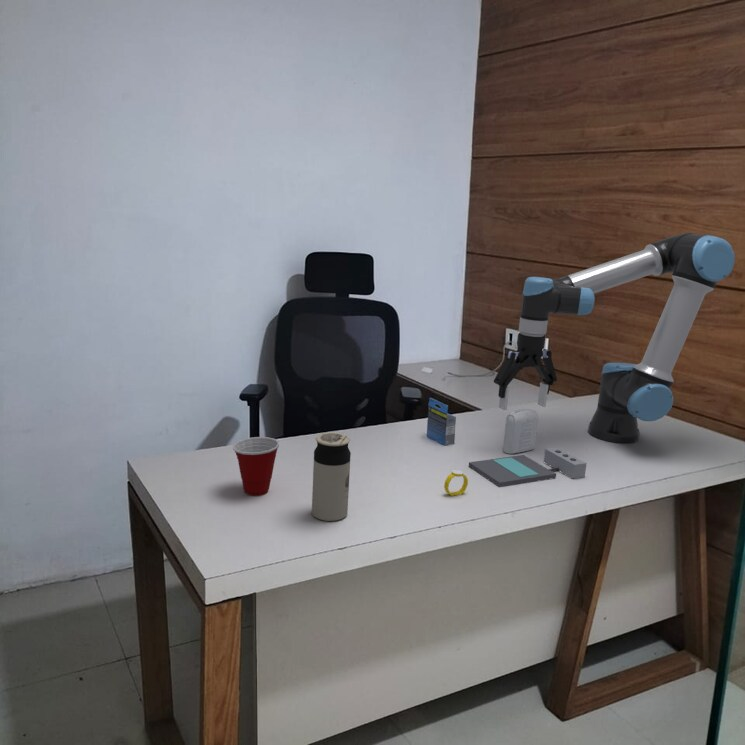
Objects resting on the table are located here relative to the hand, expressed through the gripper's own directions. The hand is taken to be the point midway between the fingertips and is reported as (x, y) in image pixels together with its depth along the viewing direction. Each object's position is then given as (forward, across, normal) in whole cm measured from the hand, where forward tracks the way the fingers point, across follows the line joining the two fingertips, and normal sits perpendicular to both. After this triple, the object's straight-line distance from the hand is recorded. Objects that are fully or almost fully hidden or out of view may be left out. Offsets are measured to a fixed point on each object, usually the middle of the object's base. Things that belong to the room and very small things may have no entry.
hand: (522, 407), depth 201 cm
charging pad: (+13, +12, +13) cm, 22 cm away
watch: (+14, +33, +20) cm, 41 cm away
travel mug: (+14, +66, +20) cm, 71 cm away
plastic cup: (+14, +78, +3) cm, 80 cm away
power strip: (+13, -1, +16) cm, 21 cm away
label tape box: (+14, +17, -14) cm, 26 cm away
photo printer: (+13, -1, 0) cm, 13 cm away
